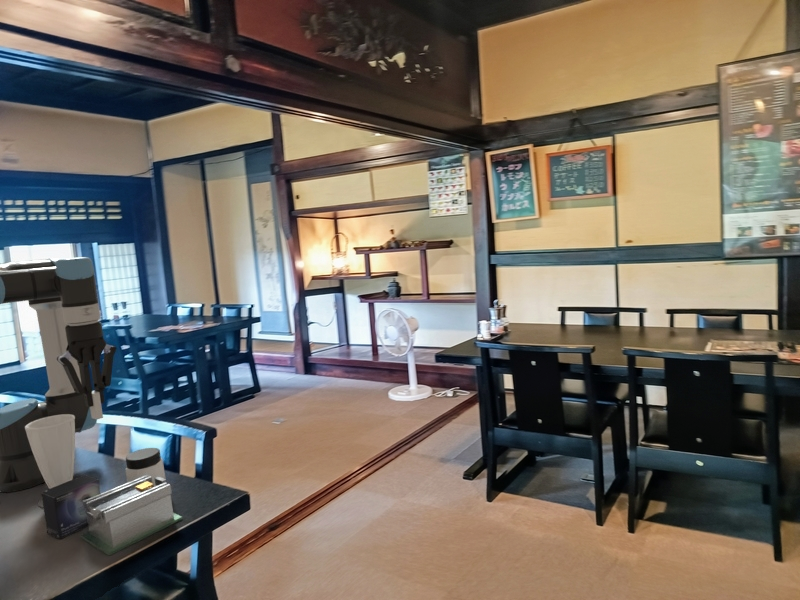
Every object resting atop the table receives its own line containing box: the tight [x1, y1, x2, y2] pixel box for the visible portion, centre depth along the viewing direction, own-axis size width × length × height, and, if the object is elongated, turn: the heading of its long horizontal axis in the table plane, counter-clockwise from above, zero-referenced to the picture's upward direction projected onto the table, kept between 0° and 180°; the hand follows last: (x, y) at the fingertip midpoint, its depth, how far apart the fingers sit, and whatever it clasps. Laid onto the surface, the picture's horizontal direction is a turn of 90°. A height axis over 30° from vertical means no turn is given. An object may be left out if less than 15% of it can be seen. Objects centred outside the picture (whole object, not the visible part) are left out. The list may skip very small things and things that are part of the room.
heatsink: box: [80, 475, 183, 556], centre depth 126 cm, size 14×17×9 cm
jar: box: [124, 447, 166, 487], centre depth 141 cm, size 9×8×12 cm
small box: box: [40, 474, 101, 540], centre depth 129 cm, size 11×6×10 cm, turn 148°
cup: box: [25, 414, 76, 509], centre depth 145 cm, size 12×12×22 cm
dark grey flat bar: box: [86, 481, 154, 520], centre depth 124 cm, size 14×4×2 cm, turn 142°
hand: (97, 417), depth 131 cm, fingers closed
